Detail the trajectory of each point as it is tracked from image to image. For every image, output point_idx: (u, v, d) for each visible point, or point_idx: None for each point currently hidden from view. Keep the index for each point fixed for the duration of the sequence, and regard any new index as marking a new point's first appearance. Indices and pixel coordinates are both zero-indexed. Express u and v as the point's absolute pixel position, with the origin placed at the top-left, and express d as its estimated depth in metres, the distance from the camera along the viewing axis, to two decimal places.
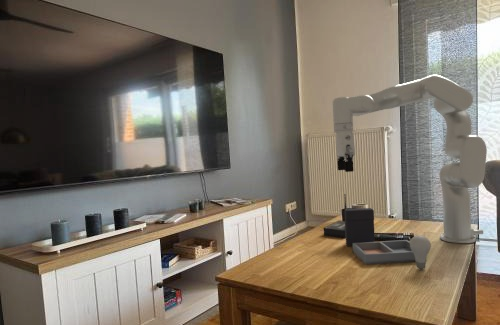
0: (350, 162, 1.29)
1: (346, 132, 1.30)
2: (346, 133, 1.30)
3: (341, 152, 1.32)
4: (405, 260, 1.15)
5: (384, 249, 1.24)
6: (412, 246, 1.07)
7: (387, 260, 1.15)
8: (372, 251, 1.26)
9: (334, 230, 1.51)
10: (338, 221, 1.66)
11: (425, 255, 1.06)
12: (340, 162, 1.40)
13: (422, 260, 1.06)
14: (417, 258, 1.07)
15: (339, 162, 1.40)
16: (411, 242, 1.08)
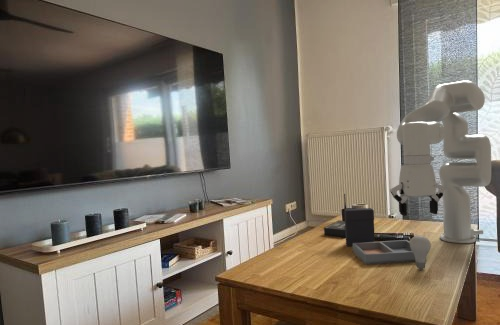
0: None
1: None
2: None
3: (429, 191, 1.05)
4: (405, 260, 1.15)
5: (384, 249, 1.24)
6: (412, 246, 1.07)
7: (387, 260, 1.15)
8: (372, 251, 1.26)
9: (334, 230, 1.52)
10: (338, 221, 1.66)
11: (425, 255, 1.06)
12: None
13: (422, 260, 1.06)
14: (417, 258, 1.07)
15: None
16: (411, 242, 1.08)
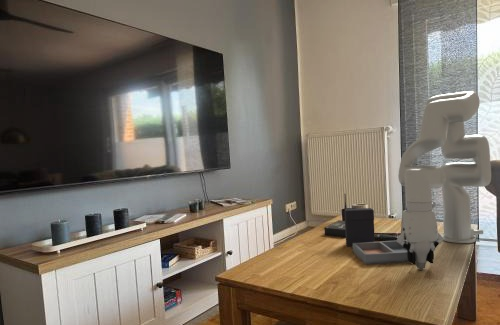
0: None
1: None
2: None
3: (431, 237, 1.06)
4: (405, 260, 1.15)
5: (384, 249, 1.24)
6: None
7: (387, 260, 1.15)
8: (372, 251, 1.26)
9: (335, 230, 1.52)
10: (338, 221, 1.67)
11: (425, 255, 1.06)
12: None
13: (422, 260, 1.06)
14: (417, 258, 1.07)
15: None
16: None
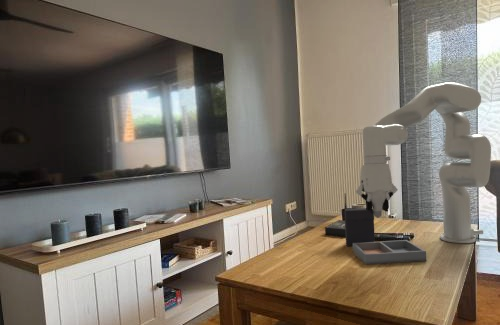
0: None
1: None
2: None
3: (386, 187, 1.17)
4: (405, 260, 1.15)
5: (384, 249, 1.24)
6: None
7: (387, 260, 1.15)
8: (372, 251, 1.26)
9: (335, 229, 1.53)
10: (338, 220, 1.67)
11: (381, 204, 1.18)
12: None
13: (378, 208, 1.18)
14: (374, 207, 1.19)
15: None
16: None
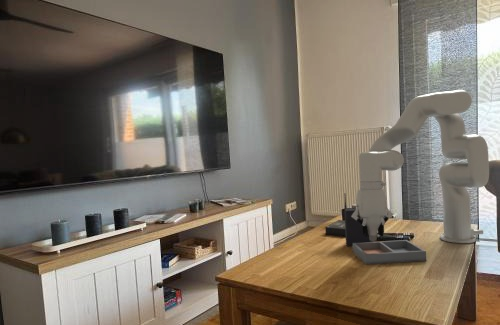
0: None
1: None
2: None
3: (381, 213, 1.19)
4: (405, 260, 1.15)
5: (384, 249, 1.24)
6: None
7: (387, 260, 1.15)
8: (372, 251, 1.26)
9: (336, 229, 1.53)
10: (338, 220, 1.68)
11: (376, 228, 1.20)
12: None
13: (373, 233, 1.20)
14: (369, 231, 1.21)
15: None
16: None
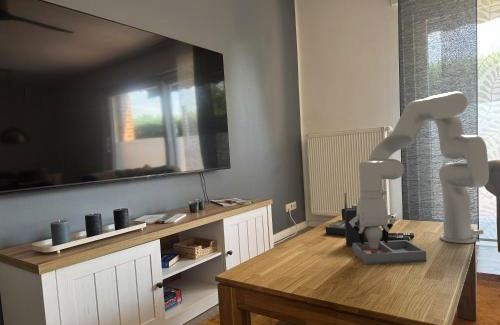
0: None
1: None
2: None
3: (381, 222, 1.19)
4: (405, 260, 1.15)
5: (384, 249, 1.24)
6: (366, 234, 1.21)
7: (387, 260, 1.15)
8: None
9: (336, 229, 1.53)
10: (339, 220, 1.68)
11: (377, 241, 1.20)
12: None
13: (374, 246, 1.20)
14: (370, 244, 1.21)
15: None
16: (365, 230, 1.22)
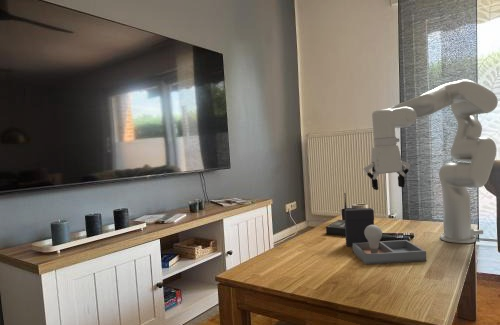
0: None
1: None
2: None
3: (396, 168, 1.23)
4: (405, 260, 1.15)
5: (384, 249, 1.24)
6: (365, 234, 1.21)
7: (387, 260, 1.15)
8: None
9: (337, 229, 1.54)
10: (339, 220, 1.68)
11: (377, 242, 1.20)
12: None
13: (374, 246, 1.20)
14: (370, 244, 1.21)
15: None
16: (365, 230, 1.22)
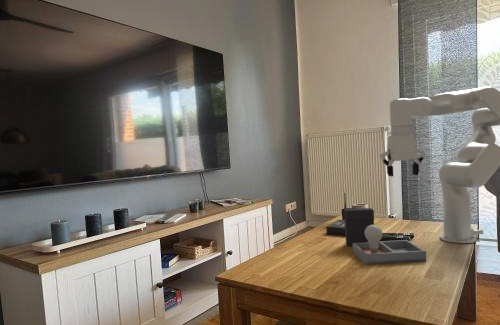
0: None
1: None
2: None
3: (411, 155, 1.27)
4: (405, 260, 1.15)
5: (384, 249, 1.24)
6: (366, 234, 1.21)
7: (387, 260, 1.15)
8: None
9: (337, 228, 1.54)
10: (338, 220, 1.69)
11: (377, 242, 1.20)
12: None
13: (374, 246, 1.20)
14: (370, 245, 1.21)
15: None
16: (365, 230, 1.21)
